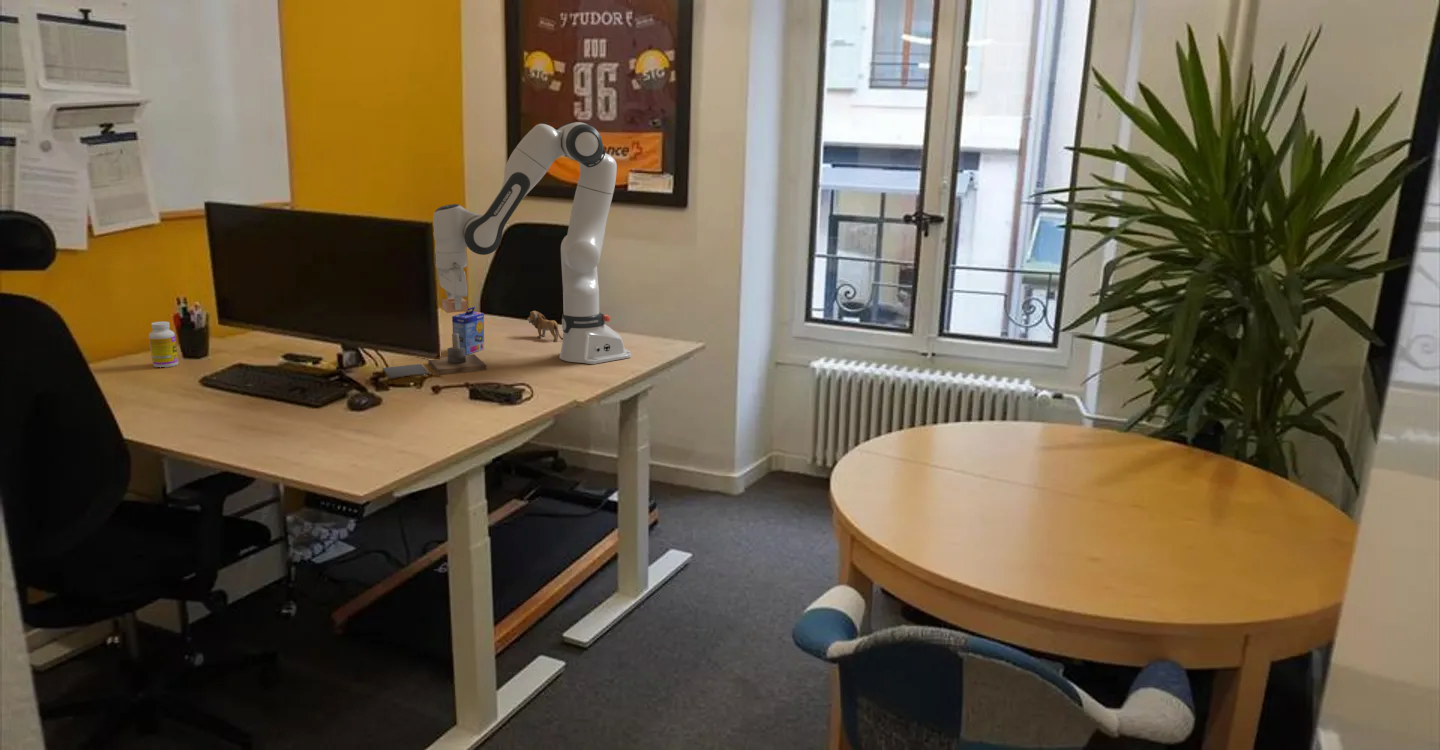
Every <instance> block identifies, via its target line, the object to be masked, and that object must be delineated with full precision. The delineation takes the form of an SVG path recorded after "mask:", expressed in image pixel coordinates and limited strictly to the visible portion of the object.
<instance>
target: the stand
mask: <svg viewBox="0 0 1440 750" xmlns="http://www.w3.org/2000/svg"><path fill="white" fill-rule="evenodd" d="M451 340H452V341H451V342H452V347H448V348H447V350H446V353H447V356H443V357H442V356H441V357H440V358H441V359H440V360H428V359H427V361H428V365H429V364H430V365H431V366H432V367H431V366H430V367H431V368H432V369H433V370H434V371H435V372H436V374H437V375H439V376H441V375H449V374H450V375H451V374H456V373H457V374H459V373H466V372H467V373H468V372H477V371H485V370H487V363H485V362H484V361H482V360H481V358H480V357H478V356H477V355H476V354H475V353H471V354H468V355H466V354H465V348H464V347H460V345H459V334H457V333H455V334H453V333H452V334H451Z"/></svg>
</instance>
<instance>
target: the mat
mask: <svg viewBox="0 0 1440 750" xmlns="http://www.w3.org/2000/svg"><path fill="white" fill-rule="evenodd" d="M382 370H383V371H384V373H385V374H386V375H387V377H388V378H389V379H391V378H392V379H398V378H397V377H401V378H405V377H404V376H410V375H420V376H427V375H426V374H429V375H430V373H429V371H428V370H427V369H426V368H425V367H424V366H423V365H422V364H421V363H417V364H408V365H407V364H406V365H400V366H399V365H398V366H388V367H387V366H386V367H383V368H382ZM424 374H425V375H424ZM410 377H411V376H410Z"/></svg>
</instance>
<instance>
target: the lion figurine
mask: <svg viewBox="0 0 1440 750" xmlns="http://www.w3.org/2000/svg"><path fill="white" fill-rule="evenodd" d="M529 313H530V315H529V316H528V317H527V321H528V323H529V324H531V325H532V326H534V328H535V329H536V330H537V333H538V336H537V339H541V338H542V337H546V331H547V332H548V331H549V332H550V334H551V335H552V336H553V338H554V339H553V342H554V343H555V342H557V341H558V339H559V338H560V340H561V341H563V336H561V335H560V332H559V324H558V323H557V321H556V320H548V319H547V318H546V316H545V315H544V314H542V313H541V312H539V311H538V310H537V311H536V310H533V311H530V312H529Z"/></svg>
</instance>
